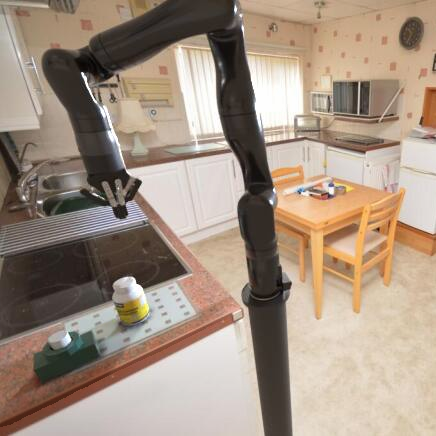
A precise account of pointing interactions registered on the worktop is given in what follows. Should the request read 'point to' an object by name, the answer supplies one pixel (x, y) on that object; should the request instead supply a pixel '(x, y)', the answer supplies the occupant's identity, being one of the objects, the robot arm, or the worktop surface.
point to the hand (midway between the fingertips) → (122, 218)
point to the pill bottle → (130, 301)
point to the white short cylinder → (59, 340)
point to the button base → (65, 356)
